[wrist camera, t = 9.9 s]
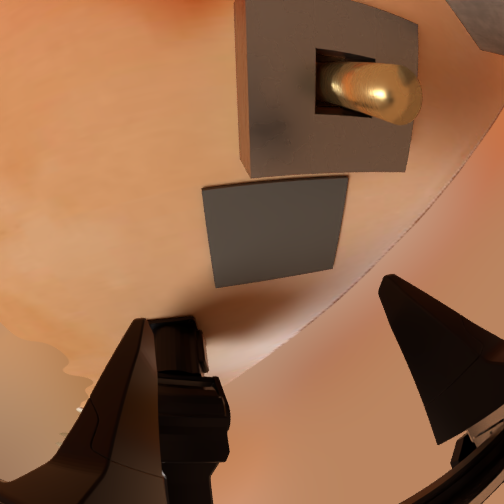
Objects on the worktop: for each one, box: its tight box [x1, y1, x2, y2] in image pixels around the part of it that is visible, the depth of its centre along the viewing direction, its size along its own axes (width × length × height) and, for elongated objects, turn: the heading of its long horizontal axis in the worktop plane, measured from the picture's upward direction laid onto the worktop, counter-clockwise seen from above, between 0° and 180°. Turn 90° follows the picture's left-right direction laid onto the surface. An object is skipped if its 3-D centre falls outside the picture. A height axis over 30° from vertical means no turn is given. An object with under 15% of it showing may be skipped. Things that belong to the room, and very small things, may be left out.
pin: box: [315, 62, 422, 125], centre depth 13 cm, size 3×3×9 cm
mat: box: [202, 176, 348, 288], centre depth 23 cm, size 12×10×1 cm
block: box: [234, 0, 418, 178], centre depth 15 cm, size 12×12×4 cm
